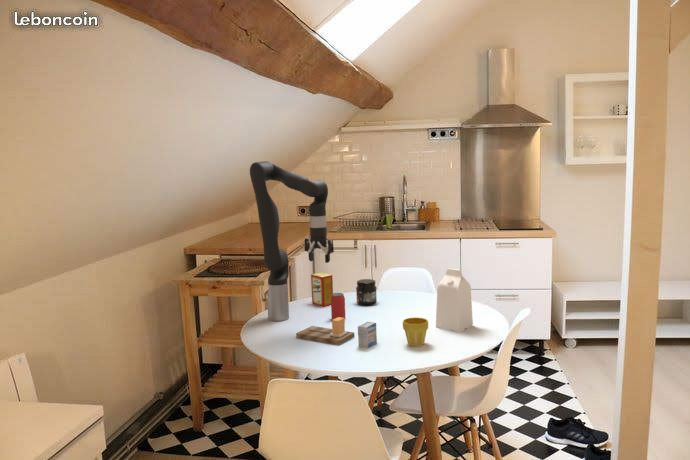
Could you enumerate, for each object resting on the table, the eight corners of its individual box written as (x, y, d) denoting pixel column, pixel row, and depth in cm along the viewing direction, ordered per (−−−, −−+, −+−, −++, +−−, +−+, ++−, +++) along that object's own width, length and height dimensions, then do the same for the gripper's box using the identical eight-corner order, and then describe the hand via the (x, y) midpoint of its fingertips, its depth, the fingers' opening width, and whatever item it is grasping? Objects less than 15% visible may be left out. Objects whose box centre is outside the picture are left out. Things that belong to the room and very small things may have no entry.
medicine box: (367, 348, 245) (367, 327, 244) (358, 346, 248) (357, 326, 246) (377, 342, 252) (376, 322, 251) (367, 341, 254) (367, 321, 253)
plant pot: (402, 339, 254) (401, 317, 253) (427, 339, 254) (426, 316, 253) (404, 348, 244) (403, 324, 243) (429, 347, 244) (429, 324, 242)
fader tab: (329, 335, 256) (329, 320, 255) (337, 331, 261) (337, 316, 260) (339, 337, 253) (339, 321, 252) (347, 333, 258) (347, 317, 257)
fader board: (296, 337, 262) (296, 332, 261) (312, 330, 272) (312, 325, 272) (339, 345, 250) (339, 340, 250) (354, 337, 260) (354, 332, 260)
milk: (472, 325, 271) (472, 268, 267) (458, 332, 262) (458, 273, 259) (450, 321, 279) (449, 265, 275) (435, 327, 271) (435, 269, 267)
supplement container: (357, 301, 320) (357, 278, 318) (377, 301, 319) (377, 278, 317) (355, 306, 310) (354, 283, 308) (375, 306, 308) (375, 283, 307)
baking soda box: (333, 304, 314) (332, 274, 312) (323, 307, 310) (322, 276, 308) (322, 301, 321) (321, 271, 319) (312, 303, 317) (311, 273, 315)
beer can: (343, 321, 284) (343, 296, 282) (330, 320, 285) (329, 295, 284) (346, 317, 291) (345, 292, 289) (333, 316, 292) (332, 292, 290)
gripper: (300, 226, 271) (301, 262, 273) (326, 227, 263) (328, 264, 265) (309, 224, 277) (311, 259, 279) (336, 225, 269) (337, 261, 271)
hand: (319, 261), depth 272 cm, fingers open, 8 cm apart
